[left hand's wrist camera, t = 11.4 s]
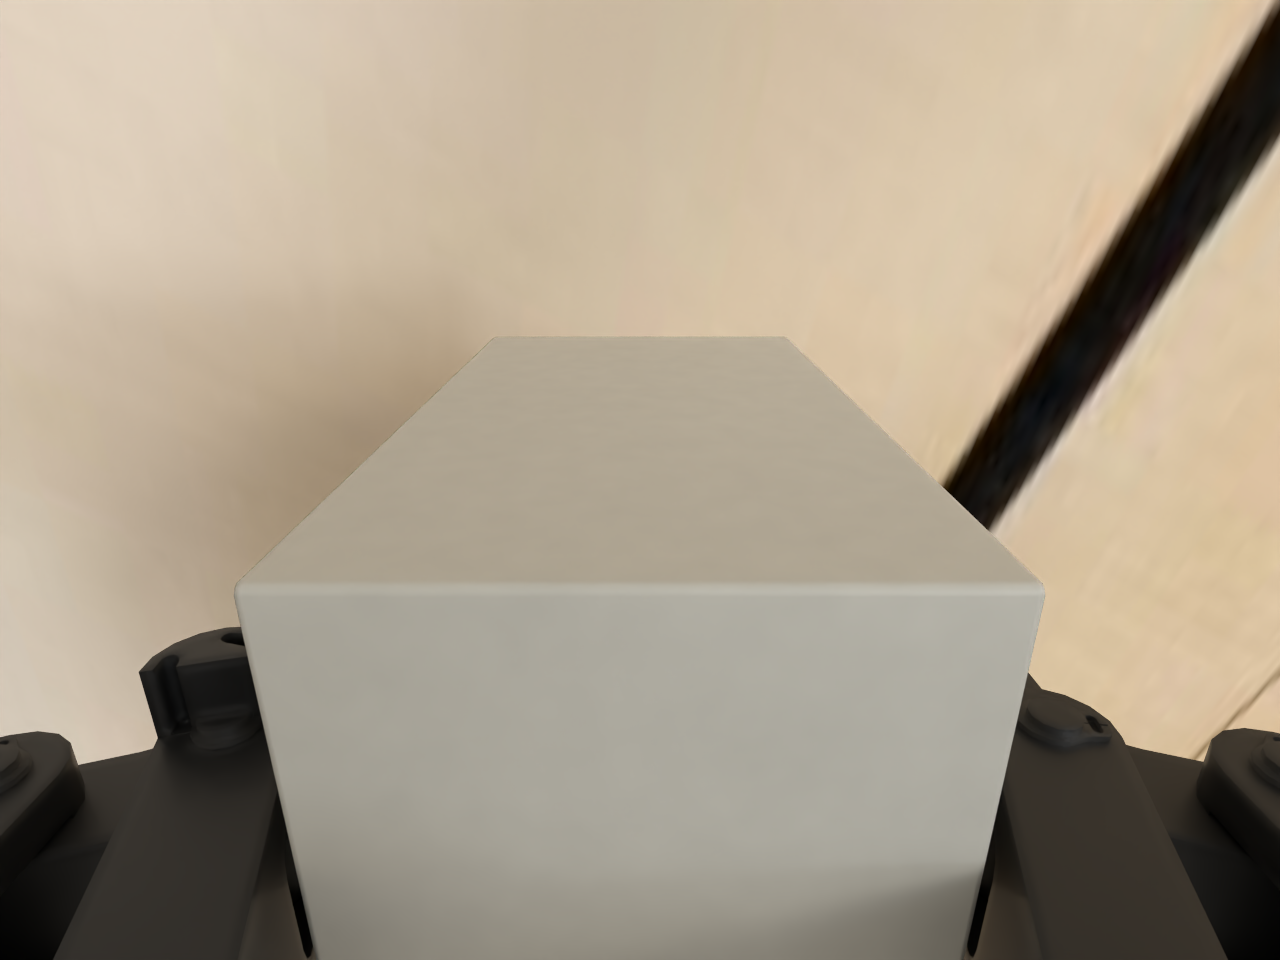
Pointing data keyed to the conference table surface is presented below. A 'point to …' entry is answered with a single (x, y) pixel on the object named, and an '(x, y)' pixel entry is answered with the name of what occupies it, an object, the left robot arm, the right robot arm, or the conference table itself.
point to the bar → (639, 670)
